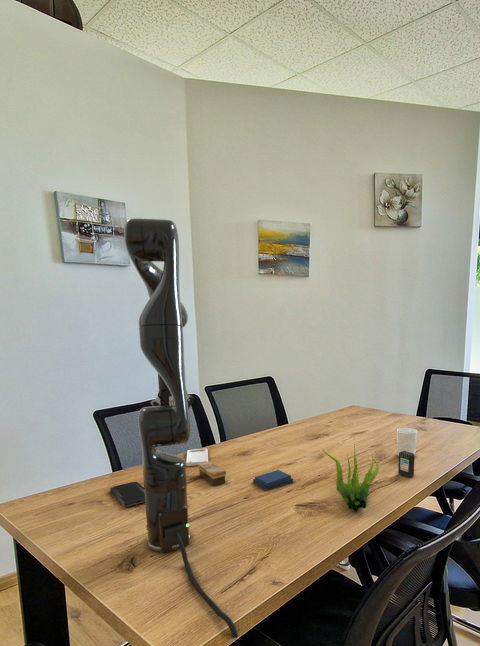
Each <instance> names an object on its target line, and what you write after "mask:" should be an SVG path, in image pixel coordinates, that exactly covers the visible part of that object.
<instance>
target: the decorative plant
mask: <svg viewBox="0 0 480 646" xmlns="http://www.w3.org/2000/svg"><path fill="white" fill-rule="evenodd" d="M353 437H354V439H356V438H355V436H353ZM321 449H322V451H323V453H324V454H325V455H326V456H328V457H329V458H330V459H332V460H333V461H334V462H335V467H336V490H337V492H338V493H339V494H340V495H341V497H342V499H343V501H344V502H345V504H346V505H347V508H348V509H349V510H352V511H353V512H356V513H357V512H359V510H360V509H366V508H367V501H368V495H369V492H370V491H369V490H370V486H371V484H372V483H373V482H374V481H375V479H376V477H377V475H378V473H379V471H380V467H379V462H378V461H377V460H375V459H374V456H375V454H376V453H377V452H376V451H375V452H373V454H372V455H371V460H372V463H371V464H370V467H369V469H368V470H367V472H366V473H365V475H364V479H363V480H362V483H360V481H359V479H360V478H359V467H358V462H357V457H356V443H354V446H353V466H354V467H353V472H352V468H351V463H350V460H349V454H348V453H347V454H346V457H347V463H348V473H347V479H346V483H344V480H343V479H344V478H343V477H344V476H343V468H342V465H341V463H340V460H339V459H337V458H336V457H334V456H333V455H331V454H329V453H328V452H326V450H325V449H324V448H323V447H321ZM374 464H375V467H374ZM373 467H374V469H373Z"/></svg>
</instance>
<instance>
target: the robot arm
mask: <svg viewBox="0 0 480 646" xmlns="http://www.w3.org/2000/svg"><path fill="white" fill-rule="evenodd" d="M123 239H124V245H125V248H126V252H127V254H128V257H129V259H130V260H131V262H132V264H133V266H134V268H135V270H136V272H137V273H138V275H139V277H140V279H141V280H142V282H143V283H144V286H145V289H146V291H147V295H148V298H149V299H148V301H147V302H146V303H145V305H144V307H143V309H142V310H141V312H140V315H139V318H138V333H139V335H138V336H139V347H140V350H141V353H142V354H143V356H144V357H145V359H146V360H147V361H148V363H149V364H150V365H151V366H152V368H153V369H154V370H155V371H156V373H157V380H158V383H157V384H158V392H157V397H156V398H155V399H152V400H151V401H150V405H152V406H145V407H142V408H141V409H140V410H139V412H138V415H137V429H138V436H139V442H140V451H141V458H142V459H141V460H142V476H143V488H144V493H145V502H144V505H145V517H146V532H147V546H148V547H147V548H148V549H150V550H152V551H154V552H160V553H161V554H165V553H168V552H169V553H170V552H173V551H175V550H177V549H180V553H181V557H182V561H183V564H184V567H185V571H186V574H187V576H188V578H189V580H190V582H191V584H192V586H193V587H194V589H195V590H196V592H197V593H198V595H199V596H200V597H201V598H202V600H204V601H205V603H206V604H207V605H208V606H209V607H210V608H211V609H212V610H213V612H214V613H215V614H216V615H217V616H218V617H219V618H221V620H222V621H224V622H225V623H226V625H227V626H228V628H229V630H230V633H231V636H232V637H233V639H234V638H235V639H237V638H238V637H239V634H238V631H237V627H236V625H235V624H234V622H233V620H232V619H231V618H230V616H228V615H227V614H226V613H225V612H224V611H222V610H221V609H220V608H219V606H218V605H217V604H216V603H215V602H214V601H213V600H212V599H211V598H210V597H209V596H208V594H207V593H206V591H204V589H203V588H202V587H201V585H200V584H199V582H198V581H197V579H196V577H195V575H194V573H193V570H192V568H191V565H190V562H189V558H188V554H187V551H186V546H189V545H190V540H191V532H190V520H189V503H188V500H189V499H188V485H187V466H186V460H185V459H184V458H183V457H181V456H179V455H175V454H171V453H166V452H164V451H162V450H160V449H159V447H167V446H176V445H177V446H178V445H184V444H186V443H188V442H189V440H190V436H191V420H190V418H191V417H190V411H189V410H190V408H191V406H192V404H193V403H194V401H196V398H195V397H194V395H193V396H192V395H190V394H189V392H188V391H187V385H186V367H185V348H184V345H185V344H184V341H185V340H184V328H185V326H187V324H188V319H189V317H188V315H189V314H188V312H187V309H186V307H185V306H184V304H183V303H182V302H181V296H180V240H179V231H178V228H177V225H176V223H175V222H174V221H173V220H171V219H161V218H141V217H138V218H136V217H135V218H129V219H127V220H126V221H125V223H124V227H123ZM155 263H163V267H162V268H163V269H161V268H160V267H159V266H158V265H156V264H155ZM162 404H163V405H162Z"/></svg>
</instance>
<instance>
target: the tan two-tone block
mask: <svg viewBox="0 0 480 646" xmlns="http://www.w3.org/2000/svg"><path fill="white" fill-rule="evenodd" d="M197 469H198V470H199V471H198V473H199V477H200V478H201V479H204V481H206V482H207V483H209V484H210V485H212V486H213V487H215V486H218V485H222V484H225V483H226V476H227V471H226V470H225V469H223V468H222V467H220V466H219V465H217V464H215V463H214V462H212V461H211V460H208V462H205V463H200V464H198V465H197Z"/></svg>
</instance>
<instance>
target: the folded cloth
mask: <svg viewBox="0 0 480 646" xmlns="http://www.w3.org/2000/svg"><path fill="white" fill-rule="evenodd" d="M252 482H253V484H255V485H256V486H258V487H259V488H261V489H262V490H265V491H268V490H272V489H275V488H280V487H283V486H286V485H289V484H292V483H294V478H293V477H292V475H291V474H288V473H286V472H285V471H283V470H280V469H276V470H273V471H269V472H266V473H263V474H260V475H259V474H258V475H257V476H254V478H253V479H252Z"/></svg>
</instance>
